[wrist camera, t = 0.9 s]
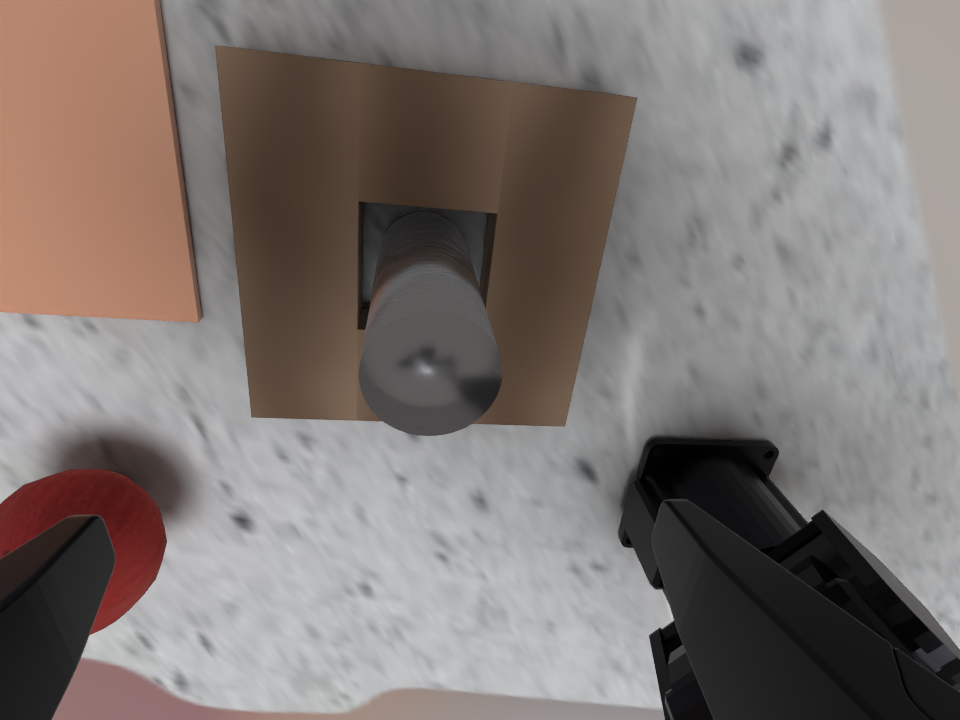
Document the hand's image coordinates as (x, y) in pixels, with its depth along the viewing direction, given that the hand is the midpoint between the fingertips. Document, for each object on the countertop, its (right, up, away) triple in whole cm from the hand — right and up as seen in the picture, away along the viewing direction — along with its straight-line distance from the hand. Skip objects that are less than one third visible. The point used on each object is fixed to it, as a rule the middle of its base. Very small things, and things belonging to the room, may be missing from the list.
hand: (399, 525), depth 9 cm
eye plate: (-1, +7, +11) cm, 13 cm away
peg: (-1, +7, +11) cm, 13 cm away
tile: (-13, +9, +8) cm, 18 cm away
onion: (-14, -2, +15) cm, 20 cm away
